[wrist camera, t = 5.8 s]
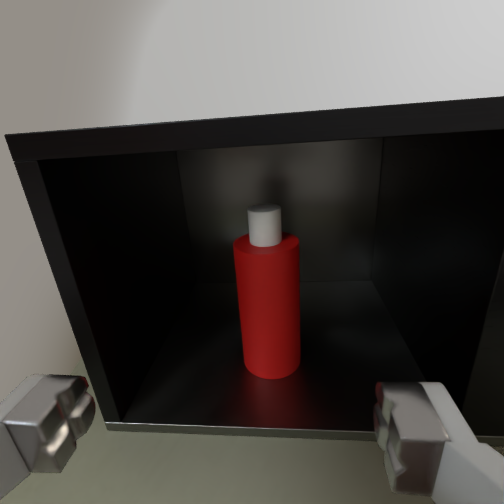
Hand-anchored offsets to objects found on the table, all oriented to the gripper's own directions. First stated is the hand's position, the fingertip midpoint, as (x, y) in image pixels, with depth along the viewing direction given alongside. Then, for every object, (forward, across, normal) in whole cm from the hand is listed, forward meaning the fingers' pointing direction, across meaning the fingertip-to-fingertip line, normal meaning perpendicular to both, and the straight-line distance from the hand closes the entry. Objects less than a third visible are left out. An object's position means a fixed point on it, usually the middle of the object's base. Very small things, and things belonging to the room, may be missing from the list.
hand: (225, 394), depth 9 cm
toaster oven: (+24, +4, -17) cm, 30 cm away
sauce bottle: (+19, 0, -16) cm, 25 cm away
